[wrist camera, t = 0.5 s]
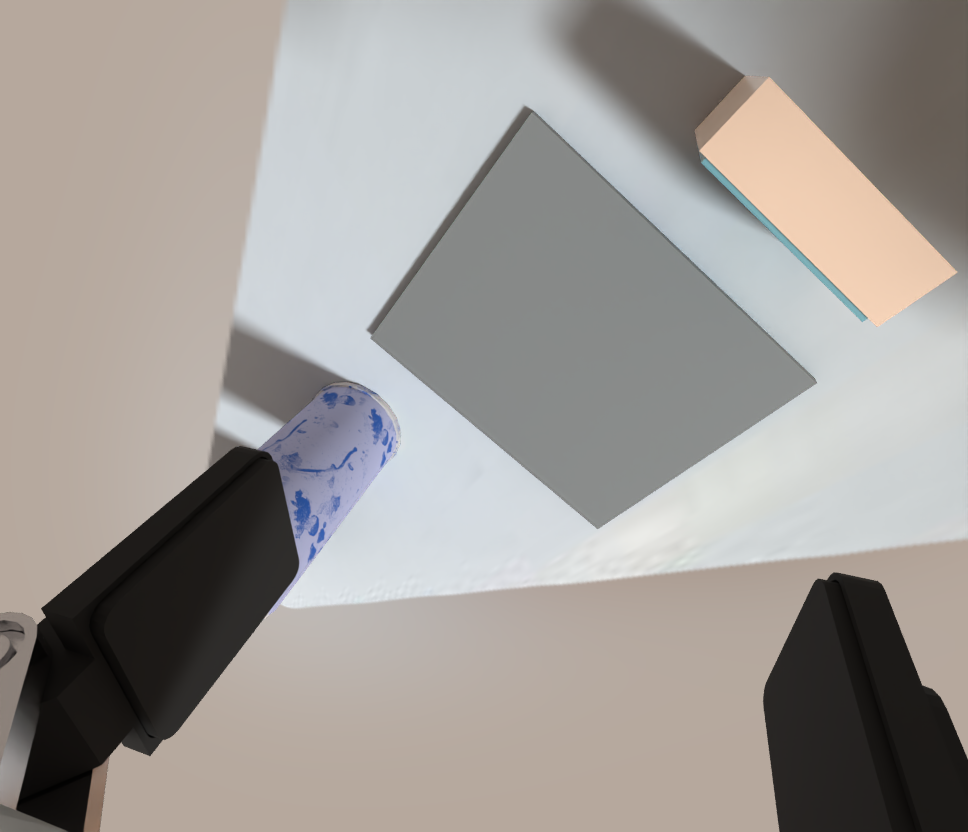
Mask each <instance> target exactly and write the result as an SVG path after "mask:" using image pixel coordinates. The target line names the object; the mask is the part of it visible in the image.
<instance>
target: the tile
mask: <svg viewBox="0 0 968 832" xmlns="http://www.w3.org/2000/svg"><path fill="white" fill-rule="evenodd" d="M694 131H695V135H696V139H697V141H696V142H697V147H698V151H699V156H700V160H701V163H702V164H703V165H704V166H705V167H706V168H707V169H708V170H709V171H710V172H711V173H712V174H713V175H714V176H715V177H716V178H717V179H718V180H719V181H720V182H721V183H722V184H723V185H724V186H725V187H726V188H727V189H728V190H729V191H730V192H731V193H732V194H733V195H734V196H735V197H736V198H737V199H738V200H739V201H740V202H741V203H742V204H743V205H744V206H745V207H746V208H747V209H748V210H749V211H750V212H751V213H752V214H753V215H754V216H756V217H757V218H758V219H759V220H760V221H761V222H762V223H763V224H764V225H765V226H766V227H767V228H768V229H769V230H770V231H771V232H772V233H773V234H774V235H775V236H776V237H777V238H778V239H779V240H780V241H781V242H782V243H783V244H784V245H785V246H786V247H787V248H788V249H789V250H790V251H791V252H792V253H793V254H794V255H795V256H796V257H797V258H798V259H799V260H800V261H801V262H802V263H803V264H804V265H805V266H806V267H807V268H808V269H809V270H810V271H811V272H812V273H813V274H814V275H815V276H816V277H817V278H818V279H819V280H820V281H821V282H822V283H823V284H824V285H825V286H826V287H827V288H828V289H829V290H830V291H832V292H833V293H834V294H835V295H836V296H837V297H838V298H839V299H840V300H841V301H842V302H843V303H844V304H845V305H846V306H847V307H848V308H849V309H850V310H851V311H852V312H853V313H854V314H855V315H856V316H857V317H858V318H859V319H860V320H861V321H862V322H863V321H865V320H866V319H867V318H869V319H870V320H871V321H872V322H873V323H874V324H875V325H876V326H877V327H878V326H880V325H881V324H883V323H884V322H886V321H887V320H889V319H890V318H892V317H893V316H894V315H896V314H897V313H899V312H900V311H902V310H903V309H905V308H906V307H908V306H909V305H911V304H912V303H914V302H915V301H916V300H918V299H919V298H921V297H922V296H924V295H925V294H927V293H928V292H930V291H931V290H933V289H934V288H936V287H937V286H938V285H940V284H941V283H943V282H944V281H946V280H947V279H949V278H950V277H952V276H953V275H955V274H956V273H958V272H957V271H956V270H955V269H954V268H953V267H952V266H951V265H950V264H949V263H948V262H947V261H946V260H945V259H944V258H943V257H942V256H941V255H940V253H939V252H938V251H937V250H936V249H935V248H934V247H933V246H932V245H931V244H930V243H929V242H928V241H927V240H926V239H925V238H924V237H923V236H922V235H921V234H920V233H919V232H918V231H917V230H916V229H915V228H914V227H913V225H912V224H911V223H910V222H909V221H908V220H907V219H906V218H905V217H904V216H903V215H902V214H901V213H900V212H899V211H898V210H897V209H896V208H895V207H894V206H893V205H892V204H891V203H890V202H889V201H888V200H887V198H886V197H885V196H884V195H883V194H882V193H881V192H880V191H879V190H878V189H877V188H876V187H875V186H874V185H873V184H872V183H871V182H870V181H869V180H868V179H867V178H866V177H865V176H864V175H863V174H862V173H861V172H860V170H859V169H858V168H857V167H856V166H855V165H854V164H853V163H852V162H851V161H850V160H849V159H848V158H847V157H846V156H845V155H844V154H843V153H842V152H841V151H840V150H839V149H838V148H837V147H836V146H835V145H834V144H833V142H832V141H831V140H830V139H829V138H828V137H827V136H826V135H825V134H824V133H823V132H822V131H821V130H820V129H819V128H818V127H817V126H816V125H815V124H814V123H813V122H812V121H811V120H810V119H809V118H808V117H807V115H806V114H805V113H804V112H803V111H802V110H801V109H800V108H799V107H798V106H797V105H796V104H795V103H794V102H793V101H792V100H791V99H790V98H789V97H788V96H787V95H786V94H785V93H784V92H783V91H782V90H781V89H780V87H779V86H778V85H777V84H776V83H775V82H774V81H773V80H772V79H771V78H770V77H762V76H744V77H743V78H742V79H741V80H740V81H739V83H738V84H737V85H736V86H735V87H734V88H733V89H732V90H731V91H730V92H729V93H728V94H727V96H726V97H725V98H724V99H723V100H722V101H721V102H720V103H719V104H718V105H717V106H716V108H715V109H714V110H713V111H712V112H711V113H710V114H709V115H708V116H707V117H706V118H705V120H704V121H703V122H702V123H701V124H700V125H699V126H698V127H697V128H696V129H695V130H694Z"/></svg>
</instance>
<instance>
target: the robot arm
mask: <svg viewBox="0 0 968 832" xmlns="http://www.w3.org/2000/svg"><path fill="white" fill-rule="evenodd" d="M298 569H299V556H298V552H297V547H296V543H295V538H294V534H293V529H292V525H291V520H290V516H289V511H288V507H287V502H286V498H285V493H284V489H283V484H282V479H281V475H280V470H279V467H278V464H277V463H276V462H275V461H273V459H272V456H271V455H270V454H269V453H268V452H265V451H261V450H256V449H251V448H247V447H242V446H239V447H235V448H234V449H232V450H231V451H229V452H228V453H227V454H226V455H225V456H223V457H222V458H221V459H220V460H219V461H217V462H216V463H215V464H214V465H213V466H211V467H210V468H209V469H208V470H207V471H205V472H204V473H203V474H202V475H201V476H199V477H198V478H197V479H196V480H195V481H193V482H192V483H191V484H190V485H189V486H187V487H186V488H185V489H184V490H183V491H182V492H180V493H179V494H178V495H177V496H175V497H174V498H173V499H172V500H171V501H169V502H168V503H167V504H166V505H165V506H163V507H162V508H161V509H160V510H159V511H157V512H156V513H155V514H154V515H153V516H151V517H150V518H149V519H148V520H147V521H146V522H144V523H143V524H142V525H141V526H140V527H138V528H137V529H136V530H135V531H134V532H132V533H131V534H130V535H129V536H128V537H126V538H125V539H124V540H123V541H122V542H120V543H119V544H118V545H117V546H116V547H114V548H113V549H112V550H111V551H110V552H108V553H107V554H106V555H105V556H104V557H102V558H101V559H100V560H99V561H98V562H96V563H95V564H94V565H93V566H92V567H90V568H89V569H88V570H87V571H86V572H84V573H83V574H82V575H81V576H80V577H79V578H77V579H76V580H75V581H74V582H72V583H71V584H70V585H69V586H68V587H66V588H65V589H64V590H63V591H62V592H60V593H59V594H58V595H57V596H56V597H54V598H53V599H52V600H51V601H50V602H48V603H47V604H46V605H45V606H44V607H42V608H41V609H42V611H43V613H44V614H45V616H46V618H45V619H43V620H42V621H41V622H40V623H39V624H38V625H36V623H35V621H34V620H33V618H31V617H30V616H27V615H25V614H23V613H14V612H6V613H0V832H100V824H101V816H102V808H103V802H104V794H105V785H106V779H107V771H108V764H109V756H110V755H111V753H112V752H113V751H114V750H115V749H116V748H117V746H118V745H119V744H120V743H121V742H122V744H123V745H124V746H125V747H128V748H130V749H133V750H136V751H138V752H141V753H143V754H146V755H149V756H151V754H152V753H153V752H154V751H155V749H156V748H157V747H158V745H159V744H160V743H161V741H162V740H166V739H168V738H170V737H171V736H173V735H174V734H175V733H176V732H177V731H178V730H179V728H180V727H181V726H182V725H183V723H184V722H185V721H186V719H187V718H188V717H189V715H190V714H191V713H192V711H193V710H194V709H195V708H196V706H197V705H198V704H199V702H200V701H201V699H203V697H204V696H205V695H206V693H207V692H208V691H209V689H210V688H211V687H212V685H213V684H214V683H215V682H216V680H217V679H218V678H219V676H220V675H221V674H222V672H223V671H224V670H225V668H226V667H227V666H228V664H229V663H230V662H231V661H232V659H233V658H234V657H235V656H236V654H237V653H238V652H239V650H240V649H241V648H242V646H243V645H244V643H245V642H246V641H247V640H248V639H249V637H250V636H251V635H252V633H253V632H254V631H255V629H256V628H257V627H258V626H259V624H260V623H261V622H262V620H263V619H264V618H265V616H266V615H267V614H268V613H269V611H270V610H271V609H272V607H273V606H274V605H275V603H276V602H277V601H278V600H279V598H280V597H281V596H282V594H283V593H284V592H285V590H286V589H287V588H288V587H289V585H290V584H291V583H292V581H293V580H294V578H295V577H296V575H297V572H298ZM763 704H764V713H765V722H766V729H767V737H768V745H769V753H770V760H771V768H772V776H773V784H774V792H775V800H776V808H777V815H778V823H779V831H780V832H968V759H967V756H966V754H965V752H964V749H963V747H962V744H961V742H960V740H959V737H958V735H957V732H956V730H955V728H954V725H953V723H952V720H951V718H950V716H949V713H948V711H947V708H946V707H945V705H944V703H943V701H942V699H941V697H940V696H939V695H938V694H937V693H936V692H935V691H934V690H933V689H930V688H928V687H925V686H922V684H921V681H920V679H919V676H918V673H917V671H916V668H915V666H914V663H913V661H912V658H911V656H910V653H909V650H908V648H907V645H906V643H905V640H904V638H903V635H902V633H901V630H900V627H899V625H898V622H897V620H896V617H895V615H894V612H893V610H892V607H891V604H890V602H889V599H888V597H887V594H886V592H885V590H884V588H883V586H882V584H881V583H879V582H878V581H874V580H870V579H865V578H860V577H855V576H851V575H846V574H841V573H833V574H831V575H830V577H829V578H828V580H823V579H817V580H816V581H815V582H814V584H813V586H812V588H811V590H810V592H809V594H808V596H807V598H806V601H805V602H804V604H803V607H802V609H801V611H800V613H799V615H798V617H797V619H796V621H795V623H794V625H793V627H792V630H791V632H790V634H789V636H788V638H787V640H786V642H785V644H784V646H783V648H782V651H781V653H780V655H779V657H778V659H777V661H776V663H775V665H774V667H773V670H772V671H771V674H770V676H769V678H768V680H767V682H766V685H765V689H764V697H763Z"/></svg>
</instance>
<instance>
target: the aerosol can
mask: <svg viewBox="0 0 968 832" xmlns="http://www.w3.org/2000/svg"><path fill="white" fill-rule="evenodd" d="M400 441H401V430H400V427H399V424H398V420H397V417H396V416H395V414H394V413H393V411H392V410H391V408H390V407H389V405H388V404H387V403H386V402H385V401H384V400H383V399H382V398H381V397H380V396H378V395H377V394H376V393H374V392H373V391H371V390H369V389H367V388H366V387H364V386H361V385H358V384H354V383H350V382H338V383H333V384H330V385H328V386H326V387H324V388H322V389H321V390H320V391H319V392H318V393H317V395H316V396H315V397H314V398H313V400H312V401H311V402H310V403H309V404H308V405H307V406H306V407H305V408H304V409H302V410H301V411H300V412H299V413H298V414H297V415H296V416H295V417H293V418H292V419H291V420H290V421H289V422H288V423H287V424H286V425H284V426H283V427H282V428H281V429H280V430H279V431H278V432H277V433H276V434H274V435H273V436H272V437H271V438H270V439H269V440H268V441H267V442H265V443H264V444H263V445H262V446H261V447H260V448H259V449H258V450H261V451H265V452H268V453H269V454H270V455H271V456H272V459H273V461H275V462H276V463H277V464H278V467H279V470H280V475H281V479H282V484H283V489H284V493H285V498H286V502H287V507H288V511H289V516H290V520H291V525H292V529H293V534H294V538H295V543H296V547H297V552H298V556H299V569H298V572H297V575H296V577H295V578H294V580H293V581H292V583H291V584H290V585H289V587H288V588H287V589H286V590H285V592H284V593H283V594H282V596H281V597H280V598H279V600H278V601H277V602H276V603H275V605H274V606H273V607H272V609H271V610H270V611H269V613H268V614H267V615H266V616H265V618H264V619H266V618H267V616H268V615H270V614H271V613H272V612H274V611H275V610H276V609H277V607H278V606H279V605H280V603H281V602H282V601H283V599H284V598H285V597H286V595H287V594H288V593H289V591H290V590H291V589H292V587H293V586H294V585H295V583H296V582H297V581H298V579H299V578H300V577H301V575H302V574H303V573H304V571H305V570H306V569H307V567H308V566H309V565H310V564H311V562H312V561H313V560H314V558H315V557H316V556H317V554H318V553H319V552H320V550H321V549H322V548H323V546H324V545H325V544H326V542H327V541H328V540H329V538H330V537H331V536H332V534H333V533H334V532H335V530H336V529H337V528H338V526H339V525H340V524H341V522H342V521H343V520H344V518H345V517H346V516H347V514H348V513H349V512H350V510H351V509H352V508H353V506H354V505H355V504H356V502H357V501H358V500H359V498H360V497H361V496H362V494H363V493H364V492H365V490H366V489H367V488H368V486H369V485H370V484H371V482H372V481H373V480H374V478H375V477H376V476H377V474H378V473H379V472H380V471H381V469H382V468H383V467H384V465H385V464H386V463H387V462H389V461H390V460H391V459H392V458H393V457H394V456H395V454H396V452H397V450H398V448H399V446H400ZM264 619H263V620H264ZM263 620H262V621H263Z"/></svg>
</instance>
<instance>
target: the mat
mask: <svg viewBox="0 0 968 832" xmlns="http://www.w3.org/2000/svg"><path fill="white" fill-rule="evenodd" d="M371 339H372V340H373V341H374V342H375V343H377V344H378V345H379V346H380V347H381V348H383V349H384V350H385V351H386V352H387V353H389V354H390V355H391V356H392V357H393V358H394V359H396V360H397V361H398V362H399V363H400V364H402V365H403V366H404V367H405V368H406V369H408V370H409V371H410V372H411V373H412V374H414V375H415V376H416V377H417V378H418V379H419V380H421V381H422V382H423V383H424V384H425V385H427V386H428V387H429V388H430V389H431V390H433V391H434V392H435V393H436V394H437V395H439V396H440V397H441V398H442V399H443V400H444V401H446V402H447V403H448V404H449V405H450V406H452V407H453V408H454V409H455V410H456V411H458V412H459V413H460V414H461V415H462V416H464V417H465V418H466V419H467V420H468V421H469V422H471V423H472V424H473V425H474V426H475V427H477V428H478V429H479V430H480V431H481V432H483V433H484V434H485V435H486V436H487V437H489V438H490V439H491V440H492V441H493V442H495V443H496V444H497V445H498V446H499V447H500V448H502V449H503V450H504V451H505V452H506V453H508V454H509V455H510V456H511V457H512V458H514V459H515V460H516V461H517V462H518V463H520V464H521V465H522V466H523V467H524V468H525V469H527V470H528V471H529V472H530V473H531V474H533V475H534V476H535V477H536V478H537V479H539V480H540V481H541V482H542V483H543V484H545V485H546V486H547V487H548V488H549V489H550V490H552V491H553V492H554V493H555V494H556V495H558V496H559V497H560V498H561V499H562V500H564V501H565V502H566V503H567V504H568V505H570V506H571V507H572V508H573V509H574V510H575V511H577V512H578V513H579V514H580V515H581V516H583V517H584V518H585V519H586V520H587V521H589V522H590V523H591V524H592V525H593V526H595V527H596V528H597V529H599V528H600V527H602V526H603V525H605V524H606V523H608V522H609V521H611V520H612V519H614V518H615V517H617V516H618V515H620V514H621V513H623V512H624V511H626V510H627V509H629V508H630V507H632V506H633V505H635V504H636V503H638V502H639V501H641V500H642V499H644V498H645V497H647V496H648V495H650V494H651V493H653V492H654V491H656V490H657V489H659V488H660V487H662V486H663V485H665V484H666V483H668V482H669V481H671V480H672V479H674V478H675V477H677V476H678V475H680V474H681V473H683V472H684V471H686V470H687V469H689V468H690V467H692V466H693V465H695V464H696V463H698V462H699V461H701V460H702V459H704V458H705V457H707V456H708V455H710V454H711V453H713V452H714V451H716V450H717V449H719V448H720V447H722V446H723V445H725V444H726V443H728V442H729V441H731V440H732V439H734V438H735V437H737V436H738V435H740V434H741V433H743V432H744V431H746V430H747V429H749V428H750V427H752V426H753V425H755V424H756V423H758V422H759V421H761V420H762V419H764V418H765V417H767V416H768V415H770V414H771V413H773V412H774V411H776V410H777V409H779V408H780V407H782V406H783V405H785V404H786V403H788V402H789V401H791V400H792V399H794V398H795V397H797V396H798V395H800V394H801V393H803V392H804V391H806V390H807V389H809V388H810V387H812V386H813V385H815V384H816V383H817V382H816V380H815V378H814V377H813V376H812V375H811V374H810V373H809V372H807V371H806V370H805V369H804V368H803V367H802V366H801V365H800V364H799V363H798V362H797V361H796V360H795V359H794V358H793V357H792V356H791V355H790V354H789V353H788V352H786V351H785V350H784V349H783V348H782V347H781V346H780V345H779V344H778V343H777V342H776V341H775V340H774V339H773V338H772V337H771V336H770V335H769V334H768V333H767V332H765V331H764V330H763V329H762V328H761V327H760V326H759V325H758V324H757V323H756V322H755V321H754V320H753V319H752V318H751V317H750V316H749V315H748V314H747V313H746V312H744V311H743V310H742V309H741V308H740V307H739V306H738V305H737V304H736V303H735V302H734V301H733V300H732V299H731V298H730V297H729V296H728V295H727V294H726V293H724V292H723V291H722V290H721V289H720V288H719V287H718V286H717V285H716V284H715V283H714V282H713V281H712V280H711V279H710V278H709V277H708V276H707V275H706V274H705V273H703V272H702V271H701V270H700V269H699V268H698V267H697V266H696V265H695V264H694V263H693V262H692V261H691V260H690V259H689V258H688V257H687V256H686V255H685V254H684V253H682V252H681V251H680V250H679V249H678V248H677V247H676V246H675V245H674V244H673V243H672V242H671V241H670V240H669V239H668V238H667V237H666V236H665V235H664V234H663V233H661V232H660V231H659V230H658V229H657V228H656V227H655V226H654V225H653V224H652V223H651V222H650V221H649V220H648V219H647V218H646V217H645V216H644V215H643V214H642V213H640V212H639V211H638V210H637V209H636V208H635V207H634V206H633V205H632V204H631V203H630V202H629V201H628V200H627V199H626V198H625V197H624V196H623V195H622V194H620V193H619V192H618V191H617V190H616V189H615V188H614V187H613V186H612V185H611V184H610V183H609V182H608V181H607V180H606V179H605V178H604V177H603V176H602V175H601V174H599V173H598V172H597V171H596V170H595V169H594V168H593V167H592V166H591V165H590V164H589V163H588V162H587V161H586V160H585V159H584V158H583V157H582V156H581V155H580V154H578V153H577V152H576V151H575V150H574V149H573V148H572V147H571V146H570V145H569V144H568V143H567V142H566V141H565V140H564V139H563V138H562V137H561V136H560V135H559V134H557V133H556V132H555V131H554V130H553V129H552V128H551V127H550V126H549V125H548V124H547V123H546V122H545V121H544V120H543V119H542V118H541V117H540V116H539V115H537V114H536V113H535V112H531V114H530V115H529V117H528V118H527V119H526V121H525V122H524V124H523V125H522V126H521V128H520V129H519V131H518V132H517V133H516V135H515V136H514V138H513V139H512V140H511V142H510V143H509V145H508V146H507V147H506V149H505V150H504V152H503V153H502V154H501V156H500V157H499V159H498V160H497V161H496V163H495V164H494V166H493V167H492V168H491V170H490V171H489V173H488V174H487V175H486V177H485V178H484V180H483V181H482V182H481V184H480V185H479V187H478V188H477V189H476V191H475V192H474V194H473V195H472V196H471V198H470V199H469V201H468V202H467V203H466V205H465V206H464V208H463V209H462V210H461V212H460V213H459V215H458V216H457V217H456V219H455V220H454V222H453V223H452V224H451V226H450V227H449V229H448V230H447V231H446V233H445V234H444V236H443V237H442V238H441V240H440V241H439V243H438V244H437V245H436V247H435V248H434V250H433V251H432V252H431V254H430V255H429V257H428V258H427V259H426V261H425V262H424V264H423V265H422V266H421V268H420V269H419V271H418V272H417V273H416V275H415V276H414V278H413V279H412V280H411V282H410V283H409V285H408V286H407V287H406V289H405V290H404V292H403V293H402V294H401V296H400V297H399V299H398V300H397V301H396V303H395V304H394V306H393V307H392V308H391V310H390V311H389V313H388V314H387V315H386V317H385V318H384V320H383V321H382V322H381V324H380V325H379V327H378V328H377V329H376V331H375V332H374V334H373V335H372V336H371Z"/></svg>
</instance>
